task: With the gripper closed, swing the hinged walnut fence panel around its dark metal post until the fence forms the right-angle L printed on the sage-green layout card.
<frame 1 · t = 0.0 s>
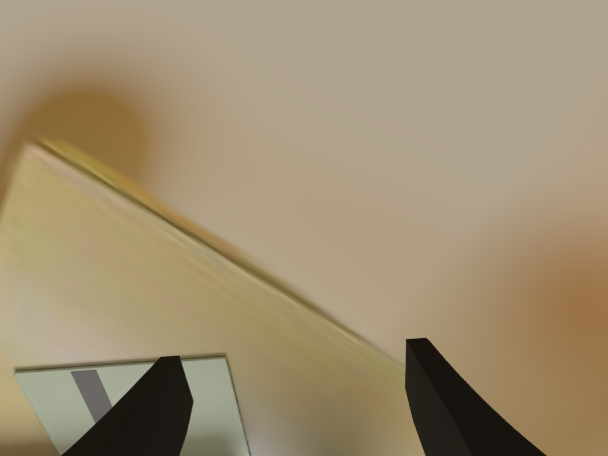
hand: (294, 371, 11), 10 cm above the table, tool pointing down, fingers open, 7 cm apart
layout card: (149, 439, 28), on the table
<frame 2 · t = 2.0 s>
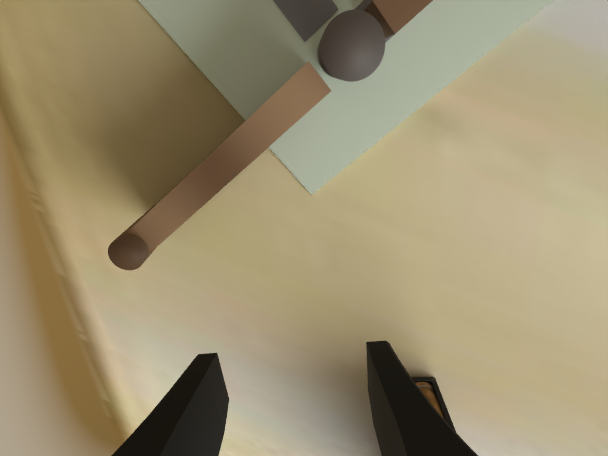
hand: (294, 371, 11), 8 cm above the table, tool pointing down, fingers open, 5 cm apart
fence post: (340, 53, 15), resting on layout card
fence gate: (218, 167, 15), point 3 cm above the table, hinge at 0.0°
ammunition clip: (411, 431, 25), on the table
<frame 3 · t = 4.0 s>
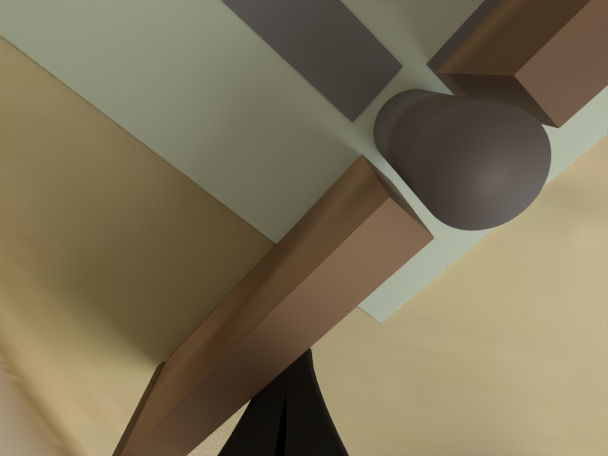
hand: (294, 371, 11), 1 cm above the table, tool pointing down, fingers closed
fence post: (409, 128, 10), resting on layout card
fence gate: (245, 336, 9), point 3 cm above the table, hinge at 0.3°, touching gripper
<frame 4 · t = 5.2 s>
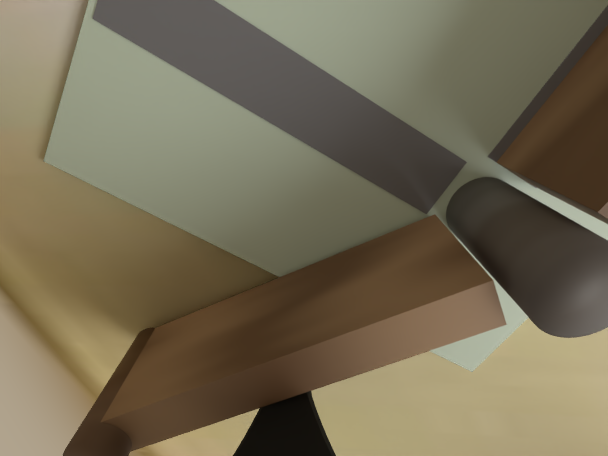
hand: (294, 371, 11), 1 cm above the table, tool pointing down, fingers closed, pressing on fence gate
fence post: (477, 207, 11), resting on layout card
layout card: (430, 57, 9), on the table
fence gate: (272, 339, 10), point 2 cm above the table, hinge at 34.7°, touching gripper
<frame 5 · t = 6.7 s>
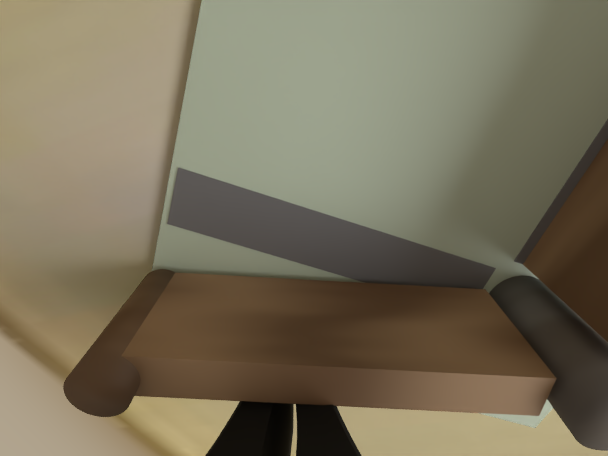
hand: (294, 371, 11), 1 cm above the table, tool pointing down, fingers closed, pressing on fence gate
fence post: (512, 298, 12), resting on layout card
layout card: (446, 195, 10), on the table
fence gate: (313, 340, 9), point 3 cm above the table, hinge at 74.8°, touching gripper
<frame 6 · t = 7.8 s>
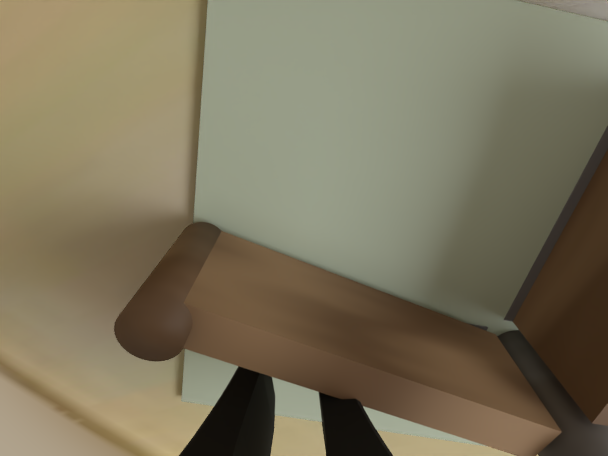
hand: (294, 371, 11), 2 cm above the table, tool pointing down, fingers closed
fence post: (509, 348, 13), resting on layout card
layout card: (433, 272, 12), on the table
fence gate: (350, 338, 10), point 2 cm above the table, hinge at 102.2°, touching gripper
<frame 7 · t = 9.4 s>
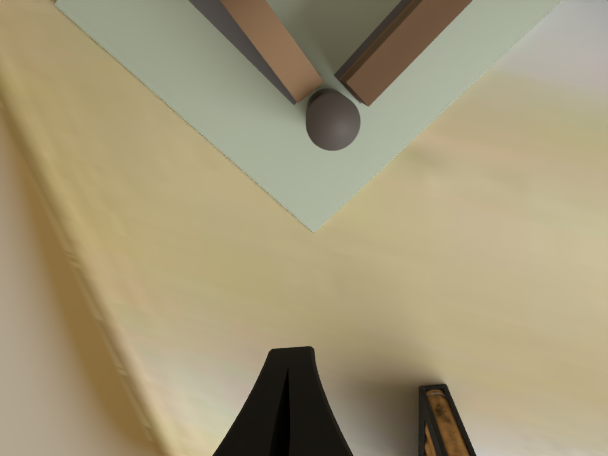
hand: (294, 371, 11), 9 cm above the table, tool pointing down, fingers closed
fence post: (326, 110, 17), resting on layout card
layout card: (306, 3, 15), on the table
ammunition clip: (430, 435, 27), on the table
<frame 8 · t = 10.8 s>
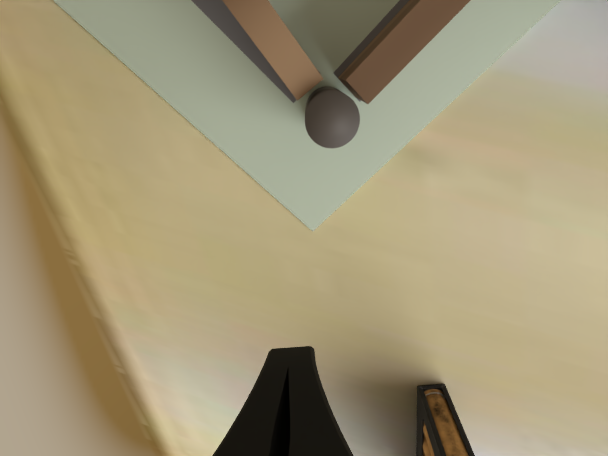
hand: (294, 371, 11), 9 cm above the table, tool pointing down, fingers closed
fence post: (326, 108, 17), resting on layout card
layout card: (306, 0, 15), on the table
ammunition clip: (428, 434, 27), on the table
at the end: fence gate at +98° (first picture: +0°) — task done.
